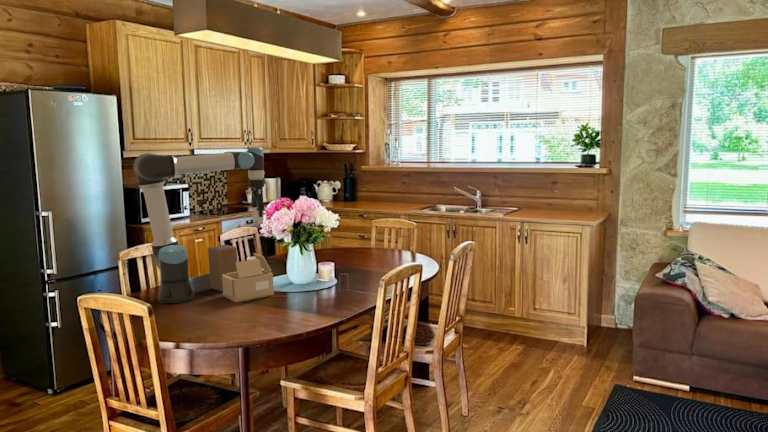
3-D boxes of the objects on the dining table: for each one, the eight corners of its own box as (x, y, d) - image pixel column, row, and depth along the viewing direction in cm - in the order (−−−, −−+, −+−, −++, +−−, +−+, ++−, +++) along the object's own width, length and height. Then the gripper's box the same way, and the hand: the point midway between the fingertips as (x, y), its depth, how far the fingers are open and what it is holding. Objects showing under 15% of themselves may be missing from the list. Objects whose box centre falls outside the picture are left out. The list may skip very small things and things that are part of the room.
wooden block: (239, 287, 276) (237, 246, 273) (221, 292, 269) (218, 249, 266) (228, 284, 283) (225, 244, 280) (209, 288, 275) (207, 247, 273)
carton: (234, 303, 250) (233, 280, 249) (220, 296, 262) (219, 274, 261) (274, 295, 261) (273, 273, 260) (259, 288, 273) (258, 267, 272)
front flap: (238, 278, 251) (239, 277, 250) (235, 262, 252) (235, 262, 252) (262, 274, 257) (262, 273, 257) (258, 259, 259) (259, 258, 258)
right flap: (262, 256, 259) (263, 256, 259) (253, 253, 267) (254, 253, 267) (270, 271, 262) (271, 271, 262) (260, 267, 270) (261, 267, 270)
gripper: (269, 180, 275) (270, 224, 277) (259, 177, 298) (260, 218, 300) (253, 180, 272) (255, 225, 275) (244, 177, 295) (245, 219, 297)
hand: (257, 222), depth 287 cm, fingers open, 13 cm apart
